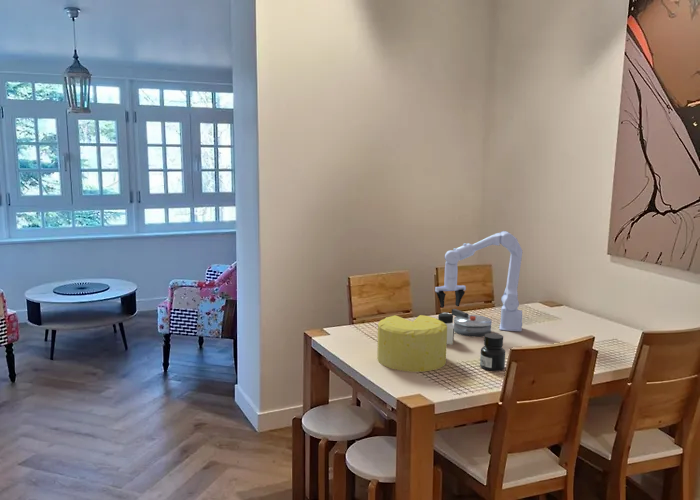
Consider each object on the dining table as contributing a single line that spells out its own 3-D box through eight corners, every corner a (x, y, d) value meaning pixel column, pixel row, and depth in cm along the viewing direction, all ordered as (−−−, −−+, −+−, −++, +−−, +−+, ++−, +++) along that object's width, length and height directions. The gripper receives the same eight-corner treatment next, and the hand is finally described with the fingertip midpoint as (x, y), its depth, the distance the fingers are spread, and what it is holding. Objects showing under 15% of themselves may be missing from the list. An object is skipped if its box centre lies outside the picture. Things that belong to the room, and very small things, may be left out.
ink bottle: (476, 362, 226) (478, 332, 224) (499, 362, 227) (501, 331, 225) (484, 372, 217) (485, 340, 215) (508, 371, 217) (510, 339, 215)
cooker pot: (490, 338, 257) (491, 329, 257) (453, 335, 261) (453, 326, 260) (490, 325, 277) (490, 316, 277) (455, 322, 281) (455, 314, 280)
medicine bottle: (453, 344, 248) (454, 316, 246) (435, 343, 249) (436, 315, 247) (453, 339, 254) (454, 312, 253) (436, 338, 256) (437, 311, 254)
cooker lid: (499, 324, 263) (499, 318, 262) (469, 329, 255) (470, 323, 255) (467, 312, 282) (467, 307, 282) (438, 316, 275) (439, 310, 274)
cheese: (402, 344, 247) (403, 309, 245) (458, 358, 231) (460, 321, 228) (363, 360, 227) (364, 322, 225) (421, 377, 211) (423, 336, 208)
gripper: (461, 274, 277) (459, 303, 279) (432, 276, 272) (431, 305, 274) (468, 277, 270) (467, 307, 272) (439, 279, 266) (438, 309, 268)
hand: (449, 306), depth 273 cm, fingers open, 7 cm apart
